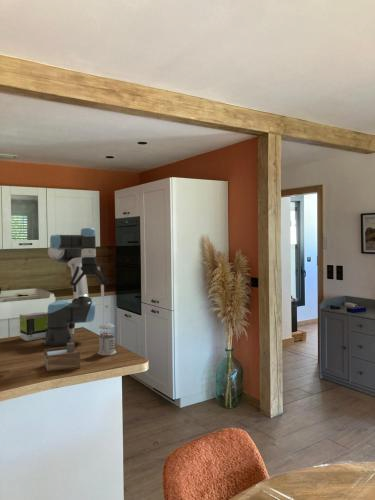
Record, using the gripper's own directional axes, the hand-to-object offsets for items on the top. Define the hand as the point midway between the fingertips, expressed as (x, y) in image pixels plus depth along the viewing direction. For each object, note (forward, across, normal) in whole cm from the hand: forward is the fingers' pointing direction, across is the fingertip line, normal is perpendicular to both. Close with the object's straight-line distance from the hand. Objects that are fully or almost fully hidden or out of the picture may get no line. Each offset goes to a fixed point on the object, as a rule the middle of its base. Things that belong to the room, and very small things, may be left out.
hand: (89, 297), depth 216 cm
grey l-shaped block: (+26, -18, -15) cm, 35 cm away
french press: (+29, +7, -1) cm, 30 cm away
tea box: (+22, -20, +50) cm, 58 cm away
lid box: (+31, -18, -14) cm, 38 cm away
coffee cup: (+22, -1, +49) cm, 54 cm away
